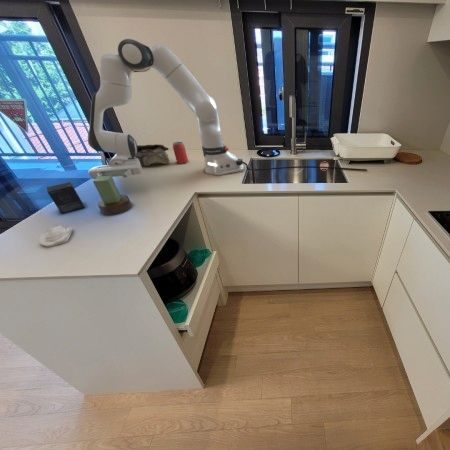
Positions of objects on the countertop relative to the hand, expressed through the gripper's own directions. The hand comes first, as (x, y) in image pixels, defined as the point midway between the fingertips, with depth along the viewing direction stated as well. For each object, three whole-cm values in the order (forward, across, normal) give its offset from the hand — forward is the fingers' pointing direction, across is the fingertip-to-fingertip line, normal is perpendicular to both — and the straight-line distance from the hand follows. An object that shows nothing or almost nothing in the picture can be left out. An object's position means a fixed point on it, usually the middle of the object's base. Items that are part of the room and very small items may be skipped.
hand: (112, 176), depth 105 cm
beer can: (-45, +24, +11) cm, 52 cm away
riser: (+9, 0, +11) cm, 14 cm away
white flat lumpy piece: (+27, -14, +11) cm, 32 cm away
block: (+9, 0, +7) cm, 11 cm away
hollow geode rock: (-48, +3, +11) cm, 50 cm away
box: (+3, -18, +11) cm, 21 cm away
